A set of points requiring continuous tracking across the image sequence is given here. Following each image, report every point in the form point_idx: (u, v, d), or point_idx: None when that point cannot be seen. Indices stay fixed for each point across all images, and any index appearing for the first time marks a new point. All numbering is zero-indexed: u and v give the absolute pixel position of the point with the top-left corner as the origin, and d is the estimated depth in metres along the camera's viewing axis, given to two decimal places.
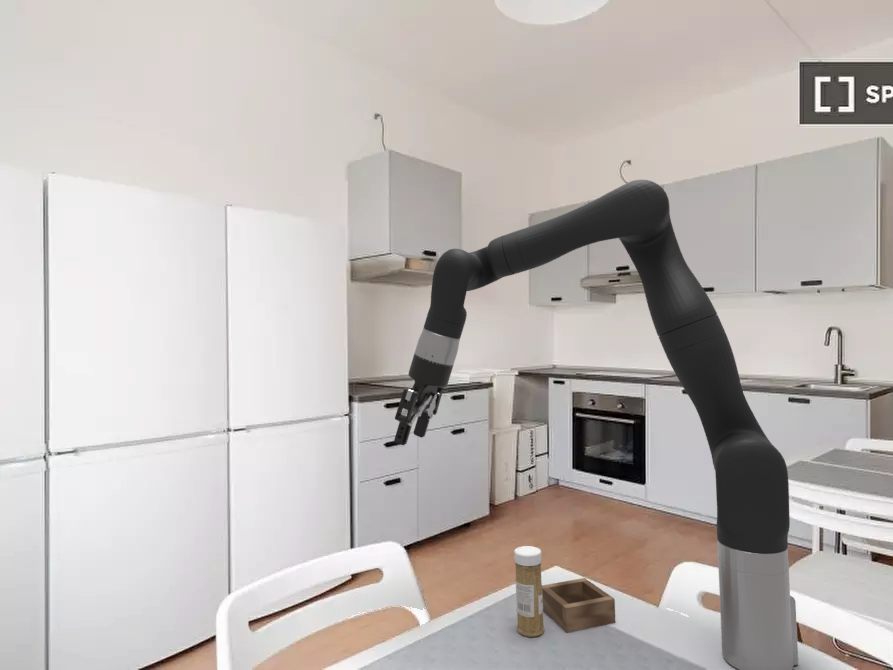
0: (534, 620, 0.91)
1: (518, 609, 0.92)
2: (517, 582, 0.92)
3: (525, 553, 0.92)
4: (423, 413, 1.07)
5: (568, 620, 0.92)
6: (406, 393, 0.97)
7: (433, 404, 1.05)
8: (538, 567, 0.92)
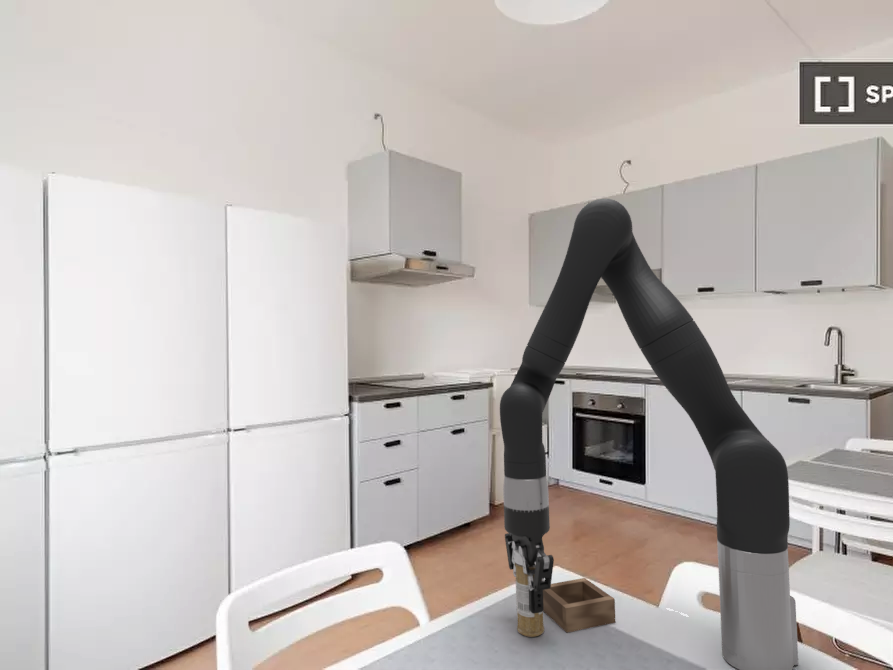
0: (534, 620, 0.91)
1: (518, 609, 0.92)
2: (517, 582, 0.92)
3: None
4: None
5: (568, 620, 0.92)
6: (543, 564, 0.87)
7: None
8: None
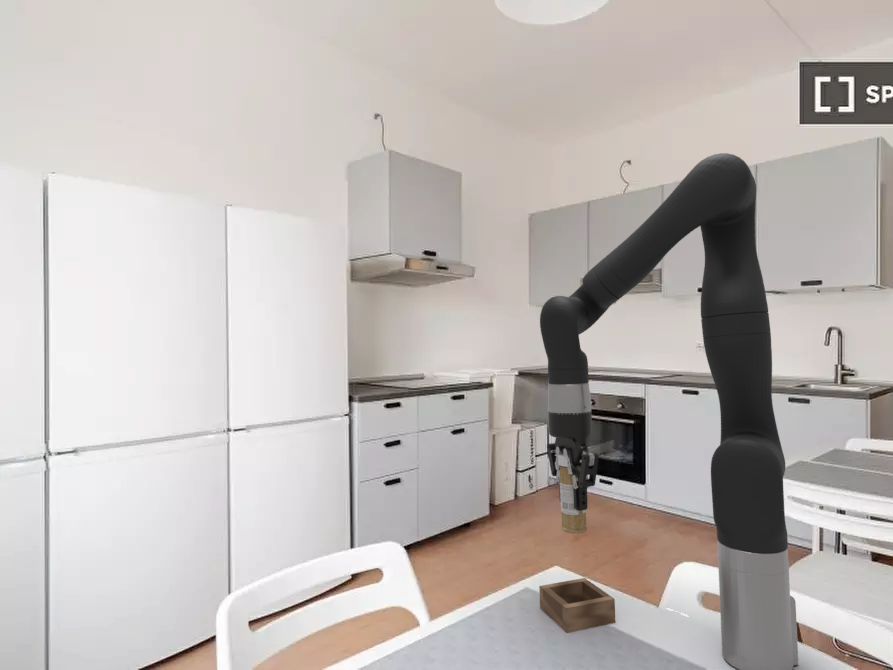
0: (578, 518, 0.96)
1: (563, 509, 0.98)
2: (562, 483, 0.98)
3: None
4: None
5: (568, 620, 0.92)
6: (589, 460, 0.92)
7: None
8: None
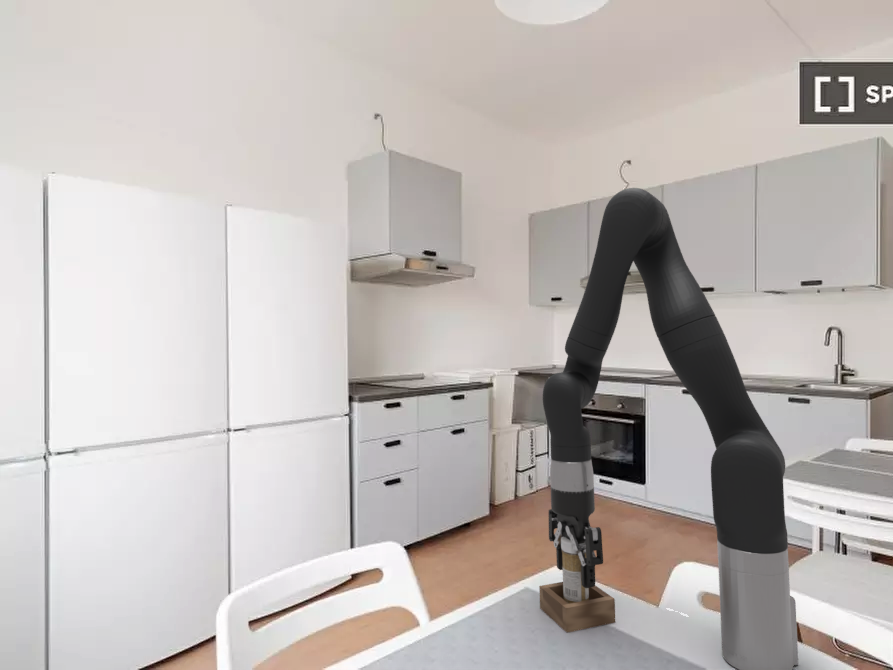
0: None
1: (565, 594, 0.97)
2: (564, 569, 0.97)
3: None
4: None
5: (568, 620, 0.92)
6: (592, 534, 0.92)
7: None
8: (585, 555, 0.97)
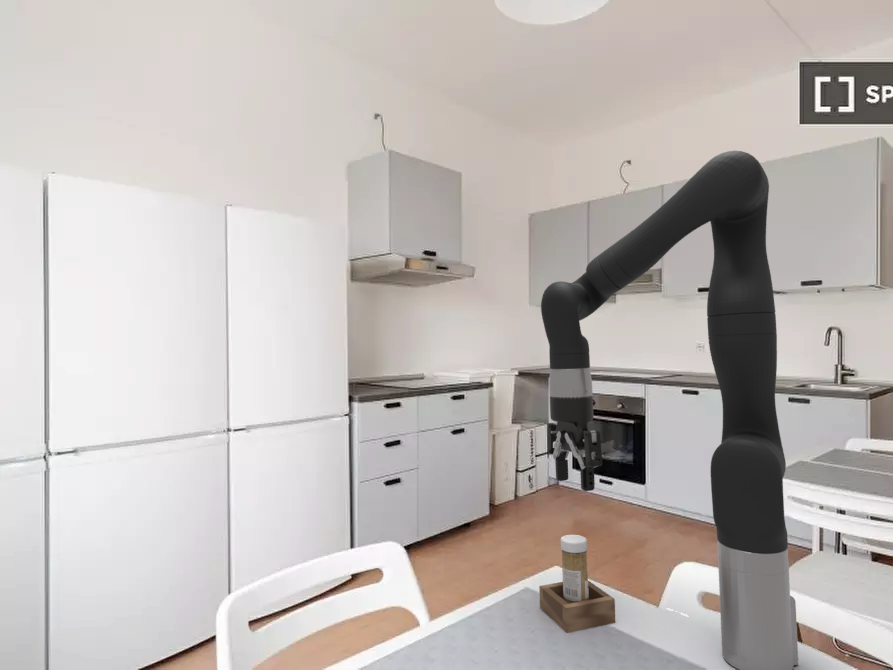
0: None
1: (565, 594, 0.97)
2: (564, 568, 0.97)
3: (572, 541, 0.97)
4: (560, 455, 1.03)
5: (568, 620, 0.92)
6: (591, 436, 0.93)
7: None
8: (584, 554, 0.97)
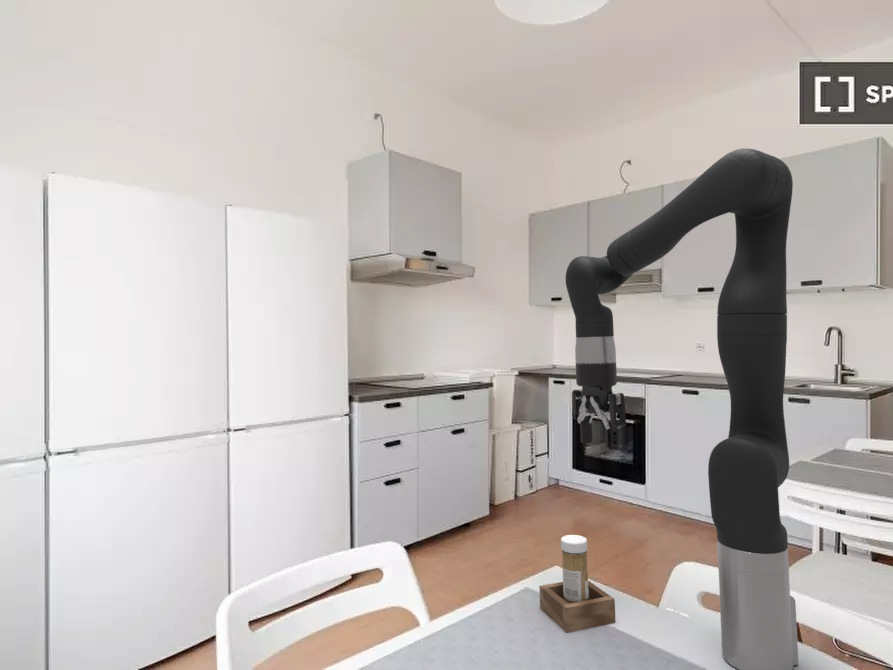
0: None
1: (565, 594, 0.97)
2: (564, 569, 0.97)
3: (573, 541, 0.97)
4: (584, 420, 1.10)
5: (568, 620, 0.92)
6: (615, 398, 1.00)
7: None
8: (584, 554, 0.97)
